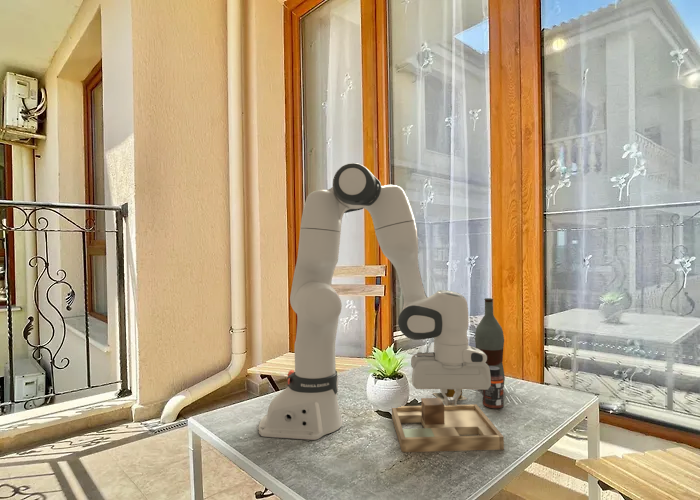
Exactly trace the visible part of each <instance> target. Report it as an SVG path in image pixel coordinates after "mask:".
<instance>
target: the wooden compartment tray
mask: <svg viewBox="0 0 700 500" xmlns="http://www.w3.org/2000/svg"><path fill="white" fill-rule="evenodd" d="M400 406H401V407H398V408H392V407H391V418H392V423H393V426H394V429H395V432H396V437H397V439H398V440H397V441H398V443H399V447H400V450H401V453H420V452H422V453H423V452H458V451H459V452H462V451H499V450H502V451H503V450H504V451H505V439H504V435H503V434H502V433H501V432H500V430H499V429H498V428H497V427H496V426H495V424H494V423H493V422H492V421H491V420H490V419H489V417H488V416H487V415H486V414H485V413H484V411H483V410H482V409H481V408H480V406H478V404H477V403H475V404H473V403H471V404H457V406H445V404H444V423H445V424H433V425H425V423H424V421H423V419H422V410H421V405H400ZM410 423H421V425H422V428H403V426H402V424H410Z"/></svg>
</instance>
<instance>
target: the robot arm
mask: <svg viewBox="0 0 700 500" xmlns="http://www.w3.org/2000/svg"><path fill="white" fill-rule="evenodd" d="M363 209H365V210H366V211H368V213H369V214H370V217H371V220H372V224H373V228H374V232H375V236H376V240H377V242H378V245H379V248H380V250H381V253H382V254H383V255H384V257H385V258H387V260H389V261H390V263H391V264H392V265H393V268H394V269H395V271H396V273H397V277H398V280H399V285H400V289H401V293H402V297H403V305H402V310H401V311H400V313H399V315H398V320H397V324H398V329H399V331H400V332H401V334H403V336H405V338H408V339H410V340H414V341H417V340H418V341H420V340H421V341H422V340H428V339H433V352H432V351H431V352H429V351H428V352H421V351H420V352H416V353H415V354H414V355H412V356H411V359H410V366H411V368H412V370H411V371H412V374H411V384H412V386H413V387H414V388H415V389H416V390H439V391H440V393H442V395H443V396H444V402H443V404H444V405H445V406H457V405H458V400H457V399H458V398H459V396H460V395H461V389H462V390H477V391H478V390H479V391H480V390H487V389H489V387H490V386H491V376H490V369H489V366H488V365H487V364H486V363H485V362H486V361H487V356H486V354H485V353H484V352H483V351H481V350H479V349H477V348H476V347H474V346H472V345H471V346H470V345H469V339H468V330H469V307H468V301H467V299H466V298H465V296H464V295H463V294H461V293H459V292H456V291H453V290H444V289H440V290H437V291H436V292H435V293H433V294H432V295H429V296H428V295H427V294H426V291H425V288H424V284H423V280H422V276H421V272H420V269H419V259H418V258H419V257H418V256H419V239H418V229H417V223H416V220H415V216H414V213H413V209H412V206H411V204H410V201H409V199H408V196H407V195H406V192H405V190H404V189H403V188H402V187H401V186H399V185H395V184H387V185H382V184H381V181H380V180H379V179H378V178H377V177H376V176H375V175H374V174H373V173H372V172H371V170H369V169H368V168H367V166H364V165H363V164H361V163H356V162H350V163H346V164H344V165H342V166H341V167H339V169H337V171H336V172H335V174H334V176H333V179H332V187H330V188H329V189H317V190H314V191H312V192H310V193H308V195H307V197H306V199H305V203H304V206H303V209H302V214H301V215H302V216H301V220H300V226H299V227H300V230H299V237H298V238H299V239H298V247H297V248H298V250H297V258H296V264H295V267H294V273H293V278H292V282H291V283H292V284H291V291H290V295H289V296H290V297H289V303H290V306H291V308H292V310H293V312H294V313H295V314H296V316H297V317H296V319H297V323H296V335H295V342H294V369H290V370H288V373H287V387H285V389H284V390H282V391H281V392H279V394H277V395H275V396H274V398H273V399H272V400H271V401H270V403H269V406H268V409H267V414H265V415H264V416H263V417H262V418H261V420H260V421H259V424H258V430H259V431H258V433H259V435H260V436H261V437H266V438H267V437H268V438H280V439H293V440H294V439H297V440H308V441H309V440H312V441H313V440H314V441H316V440H319V439H320V438H322V437H324V436H325V435H328V434H330V433H334V432H336V431H337V430H338V431H339V429H340V428H341V427H342V426H343V424H344V421H343V419H342V415H341V410H340V407H339V402H338V400H339V399H338V390H339V376H338V371H337V370H336V367H337V365H336V364H337V363H336V342H337V341H336V340H337V331H338V327H339V318H340V315H341V312H342V306H343V305H342V301H341V298H340V296H339V294H338V292H337V291H336V289H335V288H334V287H332V286H331V285H332V281H333V276H334V273H335V269H336V267H337V264H338V263H339V253H340V243H341V232H342V221H343V217H344V214H346V213H351V212H352V213H353V212H355V211H356V212H357V211H360V210H363ZM447 389H454V391H455V394H454V396H453V397H447V396H446V395H445V393H447Z"/></svg>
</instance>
